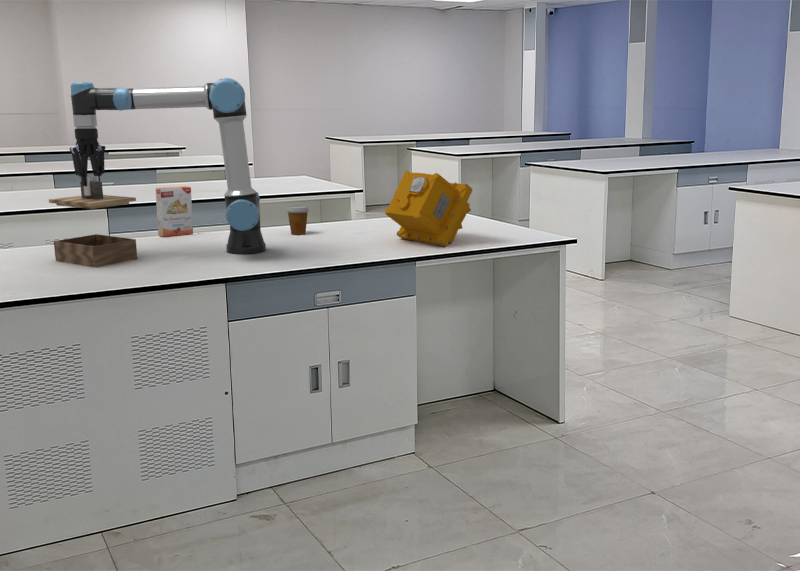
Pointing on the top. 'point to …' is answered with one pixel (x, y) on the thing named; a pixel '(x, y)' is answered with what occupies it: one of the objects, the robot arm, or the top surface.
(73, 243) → the storage box
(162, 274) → the top surface
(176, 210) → the cracker box
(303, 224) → the disposable coffee cup
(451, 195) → the control box
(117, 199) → the lid
